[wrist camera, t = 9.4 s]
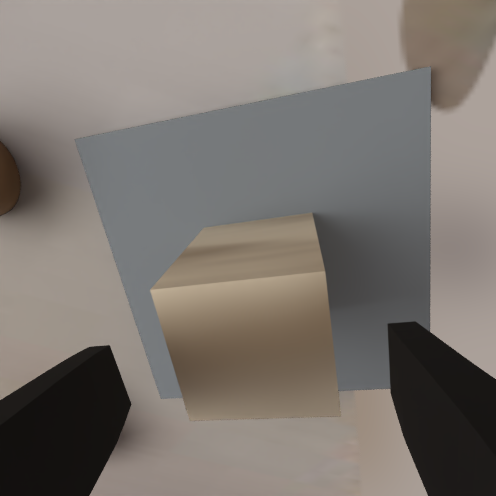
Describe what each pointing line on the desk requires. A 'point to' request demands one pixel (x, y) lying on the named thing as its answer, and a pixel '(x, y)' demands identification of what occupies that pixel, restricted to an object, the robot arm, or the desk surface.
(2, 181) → the oak cylinder
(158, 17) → the desk surface
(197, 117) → the mat
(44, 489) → the robot arm
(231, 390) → the maple block
